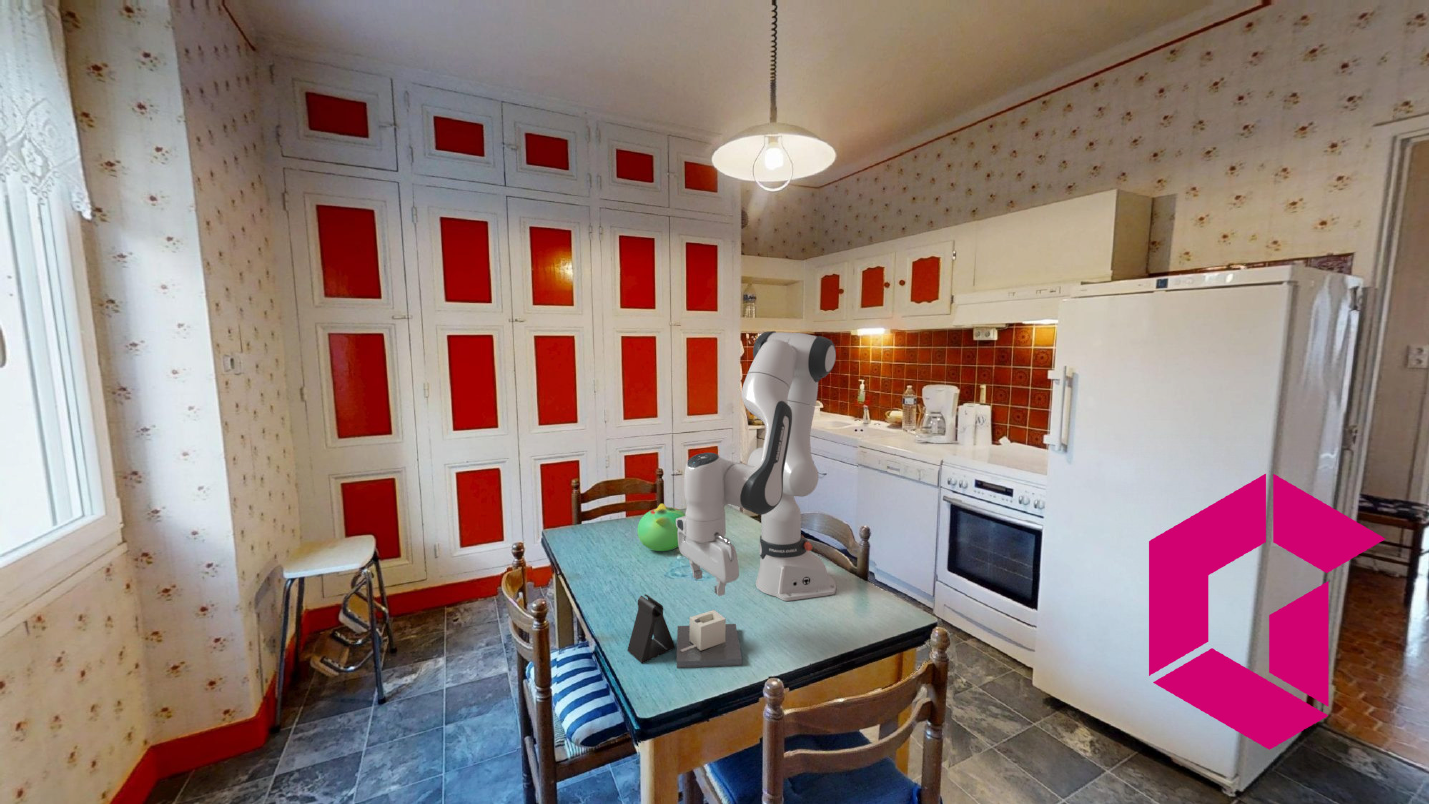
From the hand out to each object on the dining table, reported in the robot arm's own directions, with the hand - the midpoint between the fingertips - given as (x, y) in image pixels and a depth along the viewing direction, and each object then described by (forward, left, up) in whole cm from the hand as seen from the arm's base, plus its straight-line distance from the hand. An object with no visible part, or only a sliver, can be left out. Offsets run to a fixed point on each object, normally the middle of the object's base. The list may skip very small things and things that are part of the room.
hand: (708, 585), depth 117 cm
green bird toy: (+12, -58, -15) cm, 61 cm away
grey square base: (0, 0, -15) cm, 15 cm away
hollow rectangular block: (0, +1, -13) cm, 13 cm away
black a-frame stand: (+13, 0, -15) cm, 20 cm away
